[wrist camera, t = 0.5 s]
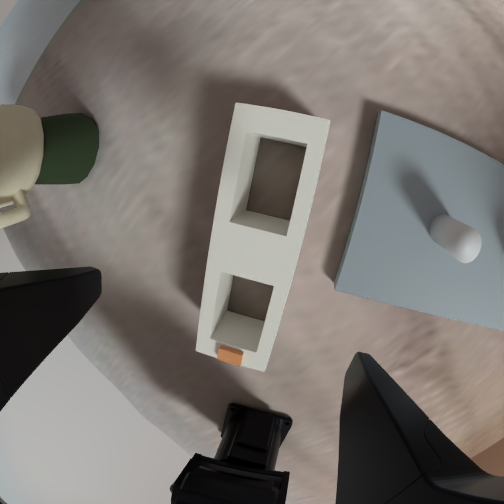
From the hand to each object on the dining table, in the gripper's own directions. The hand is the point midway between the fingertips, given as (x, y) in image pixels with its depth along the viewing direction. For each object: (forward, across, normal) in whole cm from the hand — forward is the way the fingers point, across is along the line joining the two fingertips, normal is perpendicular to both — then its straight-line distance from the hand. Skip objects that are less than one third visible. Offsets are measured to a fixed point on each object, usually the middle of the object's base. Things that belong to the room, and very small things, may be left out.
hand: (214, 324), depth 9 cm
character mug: (+12, +18, -4) cm, 22 cm away
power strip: (+12, 0, 0) cm, 12 cm away
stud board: (+12, -15, -4) cm, 19 cm away
